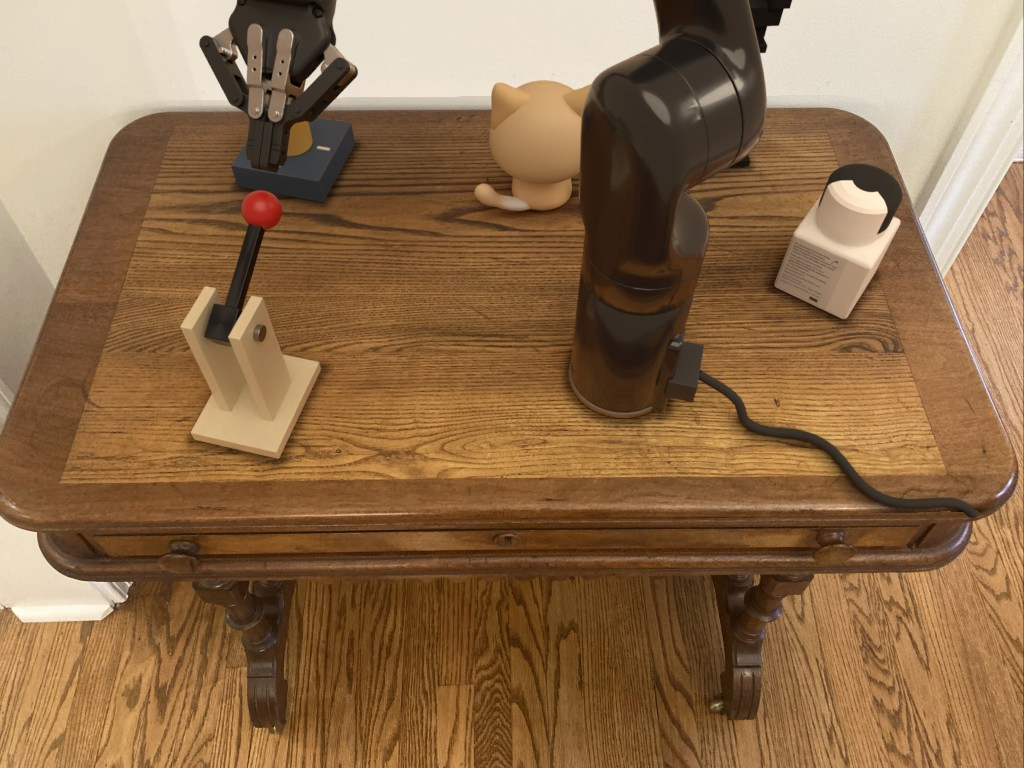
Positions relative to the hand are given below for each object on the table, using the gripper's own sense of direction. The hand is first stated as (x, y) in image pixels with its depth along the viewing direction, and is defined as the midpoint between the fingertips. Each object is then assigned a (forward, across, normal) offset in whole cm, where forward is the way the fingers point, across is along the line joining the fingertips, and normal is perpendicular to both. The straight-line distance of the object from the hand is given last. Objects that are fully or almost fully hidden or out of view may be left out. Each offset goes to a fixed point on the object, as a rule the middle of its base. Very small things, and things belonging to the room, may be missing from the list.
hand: (264, 170), depth 69 cm
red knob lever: (+8, 0, 0) cm, 8 cm away
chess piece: (-12, +35, +38) cm, 53 cm away
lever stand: (+20, 0, +5) cm, 21 cm away
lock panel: (-2, -9, +27) cm, 28 cm away
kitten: (-3, +19, +28) cm, 34 cm away
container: (+1, +49, +25) cm, 55 cm away
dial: (-4, -9, +25) cm, 26 cm away
